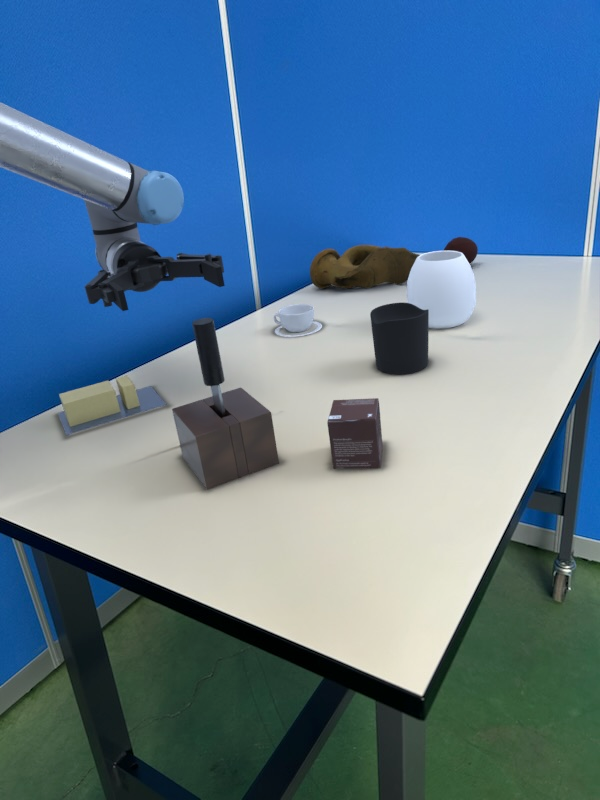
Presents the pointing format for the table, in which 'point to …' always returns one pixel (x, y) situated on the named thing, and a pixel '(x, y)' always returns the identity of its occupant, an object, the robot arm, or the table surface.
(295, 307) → the teacup
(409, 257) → the brown looped sculpture
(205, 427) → the knife block
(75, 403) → the butter stick
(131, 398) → the butter slice
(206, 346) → the knife
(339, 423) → the box
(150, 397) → the butter dish
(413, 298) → the white vase
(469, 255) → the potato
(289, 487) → the table surface
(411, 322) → the pen holder
